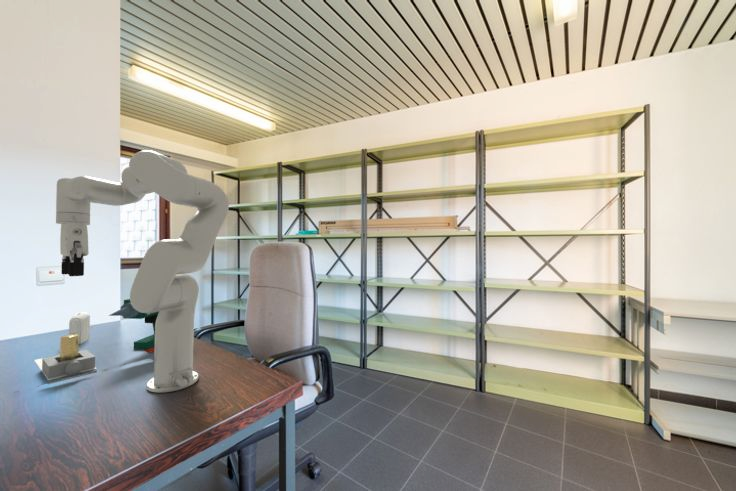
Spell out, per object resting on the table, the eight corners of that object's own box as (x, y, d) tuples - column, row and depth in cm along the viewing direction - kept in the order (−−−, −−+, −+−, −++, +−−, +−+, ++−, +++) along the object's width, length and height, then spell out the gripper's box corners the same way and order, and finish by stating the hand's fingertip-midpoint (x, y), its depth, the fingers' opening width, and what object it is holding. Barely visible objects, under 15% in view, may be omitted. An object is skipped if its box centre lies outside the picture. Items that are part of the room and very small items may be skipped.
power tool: (118, 368, 97) (120, 305, 97) (96, 367, 97) (98, 305, 97) (181, 338, 129) (183, 291, 129) (165, 337, 129) (166, 291, 129)
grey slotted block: (97, 373, 92) (97, 357, 92) (48, 385, 84) (49, 368, 84) (77, 354, 107) (77, 341, 107) (33, 363, 99) (34, 349, 99)
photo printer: (81, 347, 115) (82, 314, 115) (66, 348, 113) (67, 315, 113) (91, 339, 124) (91, 309, 124) (77, 340, 122) (78, 310, 122)
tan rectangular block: (79, 368, 93) (80, 336, 93) (61, 372, 89) (62, 339, 89) (76, 365, 95) (77, 333, 95) (58, 369, 92) (59, 336, 92)
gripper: (97, 219, 91) (96, 275, 90) (82, 221, 101) (81, 272, 101) (62, 217, 84) (61, 277, 84) (50, 219, 95) (49, 274, 94)
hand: (72, 275), depth 92 cm, fingers open, 9 cm apart
